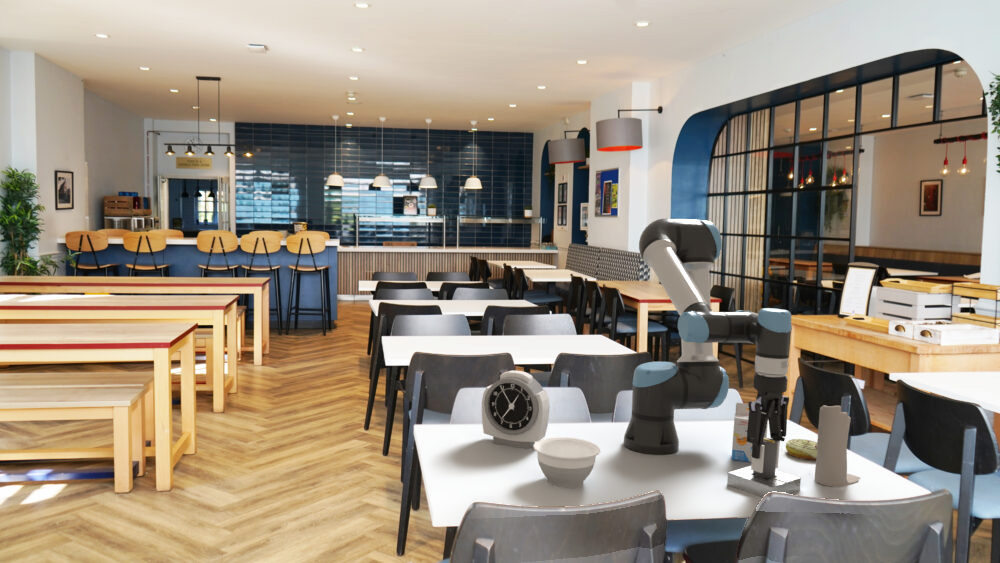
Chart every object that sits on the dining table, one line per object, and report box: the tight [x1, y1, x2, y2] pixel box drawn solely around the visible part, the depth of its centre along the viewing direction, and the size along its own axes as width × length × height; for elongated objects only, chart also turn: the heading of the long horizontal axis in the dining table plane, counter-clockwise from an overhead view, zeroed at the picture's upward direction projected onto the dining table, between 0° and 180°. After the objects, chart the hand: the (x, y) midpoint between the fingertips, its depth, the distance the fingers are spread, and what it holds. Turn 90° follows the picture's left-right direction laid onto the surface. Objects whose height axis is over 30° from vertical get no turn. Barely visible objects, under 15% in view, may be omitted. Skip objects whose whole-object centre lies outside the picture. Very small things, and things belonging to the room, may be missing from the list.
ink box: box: [731, 402, 769, 463], centre depth 205 cm, size 8×5×15 cm, turn 73°
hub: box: [726, 465, 802, 498], centre depth 184 cm, size 12×12×3 cm
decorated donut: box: [785, 438, 817, 461], centre depth 211 cm, size 10×11×4 cm
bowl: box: [532, 437, 601, 489], centre depth 182 cm, size 16×16×8 cm
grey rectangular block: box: [753, 437, 777, 480], centre depth 184 cm, size 5×5×11 cm
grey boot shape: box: [814, 405, 861, 488], centre depth 191 cm, size 7×14×20 cm, turn 123°
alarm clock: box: [481, 370, 550, 450], centre depth 211 cm, size 18×8×20 cm, turn 68°
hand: (764, 468), depth 184 cm, fingers open, 6 cm apart
